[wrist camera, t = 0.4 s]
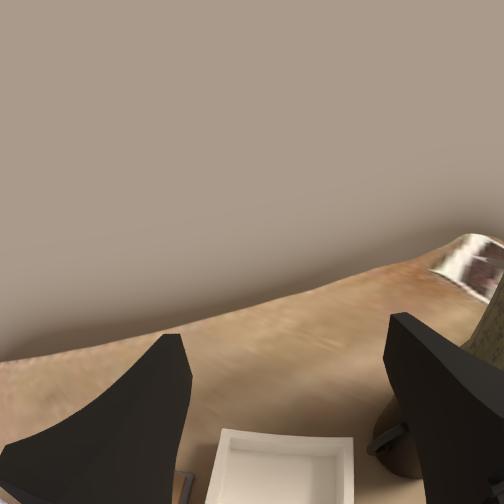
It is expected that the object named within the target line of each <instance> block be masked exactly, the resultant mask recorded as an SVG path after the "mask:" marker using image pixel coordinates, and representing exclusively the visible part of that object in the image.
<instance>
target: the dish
mask: <svg viewBox="0 0 504 504" xmlns="http://www.w3.org/2000/svg"><path fill="white" fill-rule="evenodd" d="M205 504H354V455H353V437H304V436H288V435H276V434H265V433H256V432H247V431H240V430H233V429H226V428H222V432H221V436H220V441H219V445H218V450H217V454H216V458H215V463H214V467H213V471H212V476H211V480H210V484H209V488H208V493H207V497H206V501H205Z"/></svg>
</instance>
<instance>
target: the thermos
mask: <svg viewBox="0 0 504 504" xmlns="http://www.w3.org/2000/svg"><path fill="white" fill-rule="evenodd" d="M460 348H461V349H463V350H465V351H466V352H468V353H470V354H471V355H473V356H475V357H477V358H479V359H480V360H482V361H484V362H486V363H489V364H491V365H493V366H495V367H497V368H499V369H501V370H504V273H503V275H502V278H501V280H500V282H499V284H498V286H497V288H496V291H495V293H494V295H493V297H492V299H491V301H490V303H489V305H488V307H487V309H486V311H485V312H484V314H483V316H482V318H481V320H480V322H479V324H478V325H477V327H476V329H475V331H474V332H473V334H472V336H471V338H470V339H469V340H468V341H467V342H466V343H464V344H463V345H462V346H460Z"/></svg>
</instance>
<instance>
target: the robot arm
mask: <svg viewBox="0 0 504 504" xmlns="http://www.w3.org/2000/svg"><path fill="white" fill-rule="evenodd" d="M383 361H384V364H385V368H386V372H387V375H388V378H389V381H390V384H391V386H392V388H393V391H394V393H395V395H396V398H397V400H398V402H399V404H400V407H401V409H402V411H403V414H404V416H405V418H406V421H407V423H408V425H409V428H410V430H411V433H412V436H413V439H414V442H415V446H416V450H417V454H418V457H419V462H420V467H421V471H422V476H423V482H424V488H425V496H426V504H504V370H501V369H499V368H497V367H495V366H493V365H491V364H489V363H486V362H484V361H482V360H480V359H479V358H477V357H475V356H473V355H471V354H470V353H468V352H466V351H465V350H463V349H461V348H460V347H458V346H457V345H455V344H453V343H452V342H450V341H449V340H447V339H446V338H444V337H443V336H441V335H440V334H438V333H437V332H436V331H434V330H433V329H431V328H430V327H428V326H427V325H425V324H424V323H423V322H421V321H420V320H418V319H417V318H415V317H414V316H412V315H410V314H409V313H407V312H403V313H397V314H391V315H390V322H389V328H388V334H387V339H386V345H385V350H384V355H383ZM192 377H193V376H192V373H191V369H190V366H189V363H188V359H187V356H186V353H185V349H184V346H183V342H182V339H181V335H180V334H163V335H162V336H161V337H160V338H159V339H158V340H157V341H156V342H155V343H154V344H153V345H152V346H151V347H150V348H149V349H148V350H147V351H146V353H145V354H144V355H143V356H142V357H141V358H140V359H139V360H138V361H137V362H136V363H135V364H134V365H133V366H132V367H131V368H130V369H129V370H128V371H127V372H126V373H125V374H124V375H123V376H121V377H120V378H119V379H118V380H117V381H116V382H115V383H114V384H113V385H112V386H111V387H110V388H108V389H107V390H106V391H105V392H104V393H102V394H101V395H100V396H99V397H98V398H96V399H95V400H93V401H92V402H91V403H89V404H88V405H87V406H85V407H84V408H82V409H81V410H79V411H78V412H76V413H75V414H73V415H71V416H70V417H68V418H67V419H65V420H63V421H62V422H60V423H58V424H56V425H54V426H52V427H50V428H48V429H46V430H44V431H42V432H40V433H38V434H35V435H33V436H31V437H28V438H25V439H22V440H20V441H17V442H14V443H11V444H8V445H6V446H5V447H4V449H3V451H2V453H1V455H0V486H1V487H2V488H3V489H4V490H5V491H7V492H8V493H9V494H10V495H12V496H13V497H14V498H15V499H17V500H18V501H19V502H20V503H22V504H172V493H173V481H174V471H175V462H176V457H177V452H178V447H179V443H180V439H181V435H182V431H183V427H184V423H185V419H186V415H187V411H188V407H189V403H190V396H191V387H192ZM0 504H8V503H7V502H5V501H3V500H1V499H0Z"/></svg>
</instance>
